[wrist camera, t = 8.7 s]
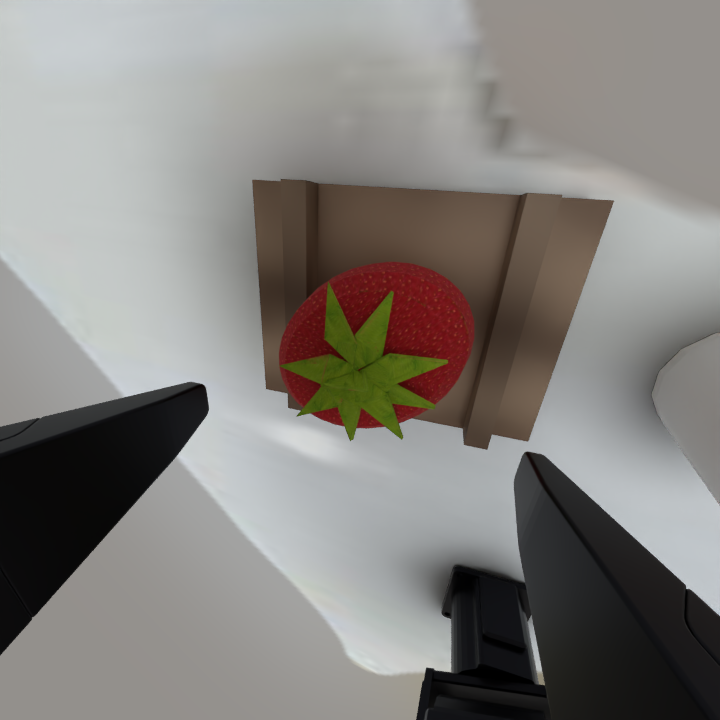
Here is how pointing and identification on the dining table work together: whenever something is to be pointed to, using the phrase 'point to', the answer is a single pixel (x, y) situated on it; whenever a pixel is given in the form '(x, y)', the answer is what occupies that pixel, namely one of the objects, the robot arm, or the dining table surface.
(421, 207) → the stand
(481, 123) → the dining table surface
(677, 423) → the foam cup
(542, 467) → the robot arm
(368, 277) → the strawberry
